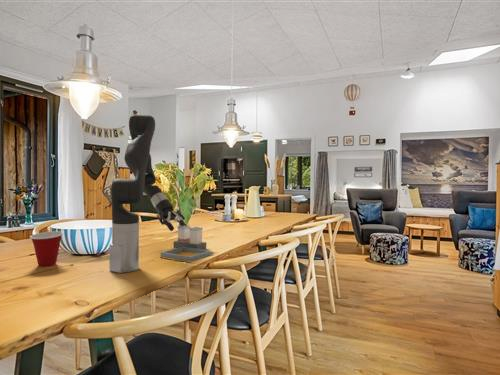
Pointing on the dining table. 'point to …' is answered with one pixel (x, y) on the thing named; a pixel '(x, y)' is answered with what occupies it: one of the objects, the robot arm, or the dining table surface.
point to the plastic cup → (46, 247)
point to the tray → (187, 258)
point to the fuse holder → (190, 245)
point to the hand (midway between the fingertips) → (179, 228)
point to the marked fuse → (183, 233)
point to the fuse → (196, 235)
